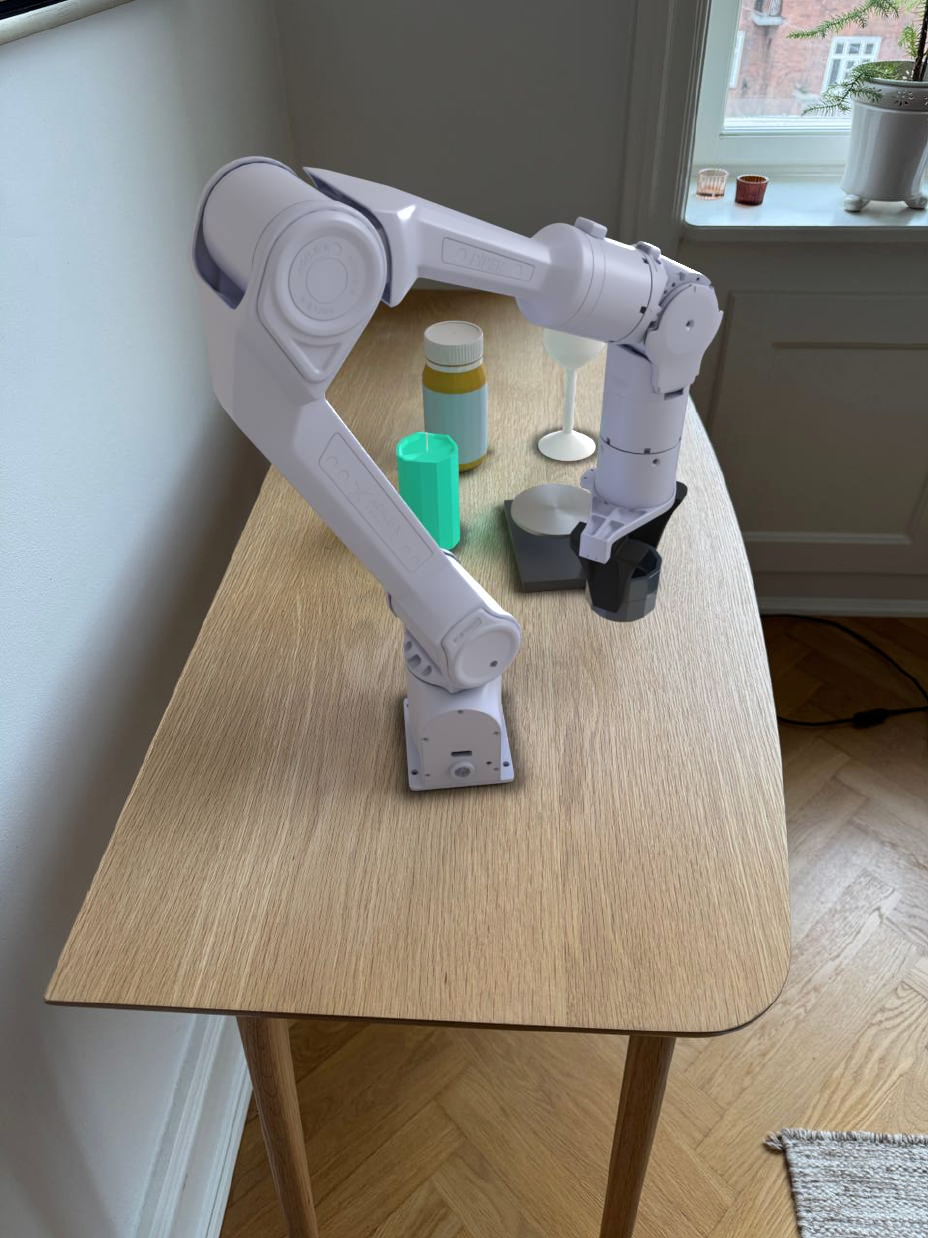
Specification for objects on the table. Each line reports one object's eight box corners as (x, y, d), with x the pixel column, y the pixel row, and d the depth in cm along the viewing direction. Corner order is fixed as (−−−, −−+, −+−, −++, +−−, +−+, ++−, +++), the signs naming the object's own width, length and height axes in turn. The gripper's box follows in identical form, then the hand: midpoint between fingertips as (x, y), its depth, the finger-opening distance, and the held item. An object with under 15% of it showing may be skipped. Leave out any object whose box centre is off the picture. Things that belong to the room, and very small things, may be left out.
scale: (656, 589, 87) (660, 564, 85) (524, 599, 86) (525, 574, 84) (620, 501, 98) (622, 477, 96) (503, 509, 97) (504, 485, 95)
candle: (454, 557, 90) (450, 451, 83) (395, 551, 91) (386, 445, 84) (466, 523, 95) (464, 419, 87) (410, 517, 96) (403, 414, 88)
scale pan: (610, 535, 88) (610, 531, 88) (517, 542, 88) (518, 537, 87) (591, 484, 95) (591, 480, 95) (505, 490, 94) (505, 486, 94)
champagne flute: (606, 453, 105) (627, 239, 89) (553, 465, 103) (565, 249, 88) (579, 426, 110) (594, 219, 94) (528, 438, 108) (535, 228, 92)
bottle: (415, 465, 104) (407, 339, 94) (444, 437, 109) (440, 314, 99) (469, 479, 101) (467, 352, 92) (497, 450, 106) (498, 325, 96)
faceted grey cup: (668, 602, 74) (676, 558, 71) (626, 635, 71) (632, 591, 68) (613, 572, 77) (618, 529, 74) (571, 603, 74) (574, 559, 71)
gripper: (626, 378, 70) (611, 523, 79) (543, 467, 61) (536, 620, 70) (715, 399, 68) (689, 546, 77) (643, 495, 58) (622, 650, 67)
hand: (621, 583), depth 73 cm, fingers closed on faceted grey cup, 6 cm apart
